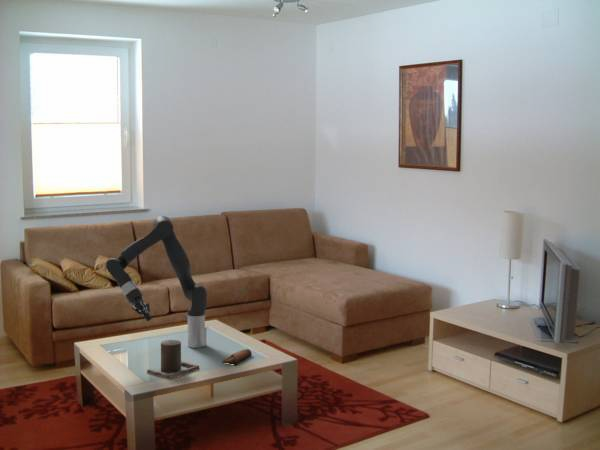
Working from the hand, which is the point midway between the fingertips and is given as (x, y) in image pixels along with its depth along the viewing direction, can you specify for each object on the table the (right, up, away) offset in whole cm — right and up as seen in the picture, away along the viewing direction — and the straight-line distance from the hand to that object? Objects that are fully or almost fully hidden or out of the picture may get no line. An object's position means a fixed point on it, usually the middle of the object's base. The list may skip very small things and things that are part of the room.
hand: (149, 320), depth 353 cm
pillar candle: (+12, -23, -9) cm, 28 cm away
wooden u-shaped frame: (+13, -23, -10) cm, 29 cm away
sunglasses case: (+42, -22, +8) cm, 48 cm away
